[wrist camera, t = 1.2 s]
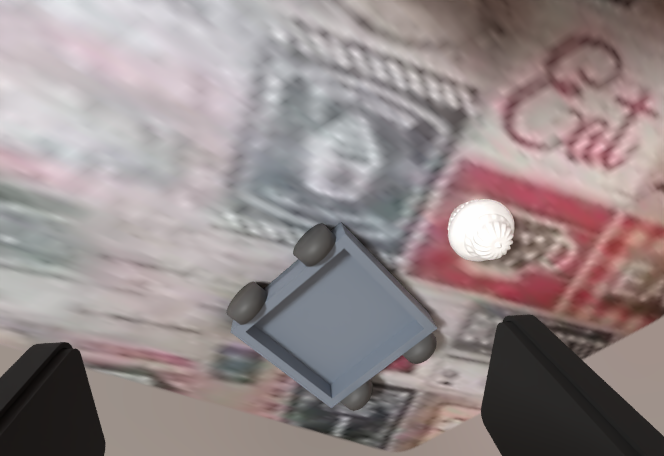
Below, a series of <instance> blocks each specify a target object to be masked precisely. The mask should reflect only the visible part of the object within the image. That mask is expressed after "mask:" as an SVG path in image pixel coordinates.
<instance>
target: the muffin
mask: <svg viewBox="0 0 664 456" xmlns="http://www.w3.org/2000/svg"><path fill="white" fill-rule="evenodd" d="M448 230H449V231H448V237H449V242H450V245H451V246H452V248H453V250H454V251H455V252H456V253H457V254H458V255H459V256H461V257H462V258H464V259H466V260H470V261H486V260H493V259H498V258H500V257H501V256H502V255H505V254H506V253H507V250H510V249H511V247H510V245H511V244H513V241H512V240H511V239H512V238H513V236H514V235H513V234H514V219H513V216H512V214H511V213H510V211H509V210H508V209H507V208H506V207H505V206H504V205H503V204H501V203H500V202H497V201H495V200H491V199H480V200H477V199H476V200H472V201H469V202H466V203H464V204H461V205H460V206H457V208H455V210H454V211H453V213H451V216H450V219H449V223H448Z"/></svg>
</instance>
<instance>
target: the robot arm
mask: <svg viewBox="0 0 664 456" xmlns="http://www.w3.org/2000/svg"><path fill="white" fill-rule="evenodd" d="M481 416H482V419H483V423H484V425H485V427H486V429H487V431H488V432H489V433H490V435H491V437H492V439H493V441H494V443H495V444H496V446H497V448H498V449H499V451H500V453H501V455H502V456H664V436H663V435H662V434H661V433H660V432H659V431H657V430H656V429H655V428H654V427H653V426H652V425H651V424H650V423H649V422H648V421H647V420H646V419H645V418H643V417H642V416H641V415H640V414H639V413H638V412H637V411H636V410H635V409H634V408H633V407H632V406H631V405H630V404H628V403H627V402H626V401H625V400H624V399H623V398H622V397H621V396H620V395H619V394H618V393H617V392H616V391H614V390H613V389H612V388H611V387H610V386H609V385H608V384H607V383H606V382H604V380H603V379H602V378H600V377H599V376H598V375H597V374H596V373H595V372H594V371H593V370H592V369H591V368H590V367H589V366H588V365H587V364H585V363H584V362H583V361H582V360H581V359H580V358H579V357H578V356H577V355H576V354H575V353H574V352H573V351H572V350H571V349H569V348H568V347H567V346H566V345H565V344H564V343H563V342H562V341H561V340H560V339H559V338H558V337H557V336H555V335H554V334H553V333H552V332H551V331H550V330H549V329H548V328H547V327H546V326H545V325H544V324H543V323H542V322H540V321H539V320H538V319H537V318H536V317H535V316H533V315H514V316H507V317H505V318H504V320H503V322H502V323H499V324H498V325H497V328H496V333H495V339H494V344H493V349H492V354H491V359H490V365H489V370H488V375H487V380H486V386H485V391H484V396H483V401H482V407H481ZM104 453H105V439H104V435H103V432H102V428H101V425H100V421H99V418H98V414H97V410H96V407H95V403H94V400H93V396H92V392H91V389H90V386H89V382H88V378H87V374H86V371H85V367H84V364H83V360H82V357H81V354H80V351H79V350H78V349H73V348H72V346H71V345H70V344H69V343H66V342H61V343H44V344H36V345H33V346H32V347H30V348H29V349H28V350H27V351H26V352H25V353H24V354H23V355H22V356H21V357H20V358H19V359H18V360H17V362H15V364H13V366H11V367H10V368H9V370H8V371H7V372H5V374H4V375H3V376H2V377H1V378H0V456H104Z"/></svg>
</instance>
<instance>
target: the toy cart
mask: <svg viewBox="0 0 664 456" xmlns="http://www.w3.org/2000/svg"><path fill="white" fill-rule="evenodd" d="M293 254H294V255H295V256H296V257H297V258H298V260H297V261H296V262H294V263H293V264H292V265H291V266H290V267H289V268H287V269H286V270H285V271H284V272H283V273H282V274H281V275H279V276H278V277H277V278H276V279H275V280H274V281H272V282H271V283H270V284H269V285H268V286H267V287H265V288H264V289H262V288H261V287H260V286H259V285H258V284H256V283H255V282H250V283H248V284H247V285H246V286H244V287H243V288H242V289H241V290H240V291H239V292H238V293H237V294H236V296H235V297H234V298H233V300H232V301H231V303H230V304H229V306H228V309H227V315H228V316H229V317H231V318H232V319H233V324H232V328H231V333H232V334H234V335H235V336H236V337H238V338H239V339H240V340H242V341H243V342H244V343H246V344H247V345H248V346H250V347H251V348H252V349H254V350H255V351H256V352H258V353H259V354H260V355H262V356H263V357H264V358H266V359H267V360H268V361H270V362H271V363H272V364H274V365H275V366H276V367H278V368H279V369H280V370H282V371H283V372H284V373H285V374H287V375H288V376H289V377H291V378H292V379H293V380H295V381H296V382H297V383H299V384H300V385H301V386H303V387H304V388H305V389H307V390H308V391H309V392H311V393H312V394H313V395H315V396H316V397H317V398H319V399H320V400H321V401H323V402H324V403H325V404H327V405H328V406H329V407H331V408H332V407H333V406H335V405H336V404H337V403H339V402H341V403H342V404H343V405H345V406H346V407H347V408H349V409H350V410H353V411H355V410H359V409H361V408H362V407H363V406H364V405H365V404H366V403H367V402H368V401H369V399H370V397H371V394H372V390H373V384H372V381H371V380H370V379H371V378H372V377H373V376H375V375H376V374H377V373H379V372H380V371H381V370H383V369H384V368H385V367H387V366H388V365H389V364H391V363H392V362H393V361H395V360H396V359H397V358H399V357H400V356H401V355H403V356H404V357H405V358H406V359H407V360H408V361H409V362H411V363H414V364H419V363H422V362H424V361H426V360H427V359H429V358H430V357H431V355H432V354H433V353H434V351H435V348H436V337H435V336H434V334H433V333H432V332H433V331H435V330H436V329H437V327H436V325H435V323H434V322H433V320H432V318H431V316H430V315H429V313H428V311H427V310H426V309H425V308H424V307H423V306H422V305H421V304H420V303H419V302H418V301H417V300H416V299H415V298H414V297H413V296H412V295H411V294H410V293H409V292H408V291H407V290H406V289H405V288H404V287H403V286H402V285H401V284H400V283H399V282H398V281H397V279H396V278H395V277H394V276H393V275H392V274H391V273H390V272H389V271H388V270H387V269H386V268H385V267H384V266H383V265H382V264H381V263H380V262H379V261H378V260H377V259H376V258H375V257H374V256H373V255H372V254H371V253H370V252H369V251H368V250H367V248H366V247H365V246H364V245H363V244H362V243H361V242H360V241H359V240H358V239H357V238H356V237H355V236H354V235H353V234H352V233H351V232H350V231H349V230H348V229H347V228H346V227H345V226H344V225H343V224H342V223H340V224H339V225H337V226H336V227H335V228H334V229H333V230H332V231H330V230H329V229H328V228H327V227H326V226H325V225H324V224H322V223H321V224H317V225H315V226H314V227H312V228H311V229H310V230H308V231H307V232H306V233H305V234H304V235H303V236H302V237H301V238H300V240H299V241H298V242H297V244H296V246H295V248H294V251H293Z"/></svg>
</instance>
